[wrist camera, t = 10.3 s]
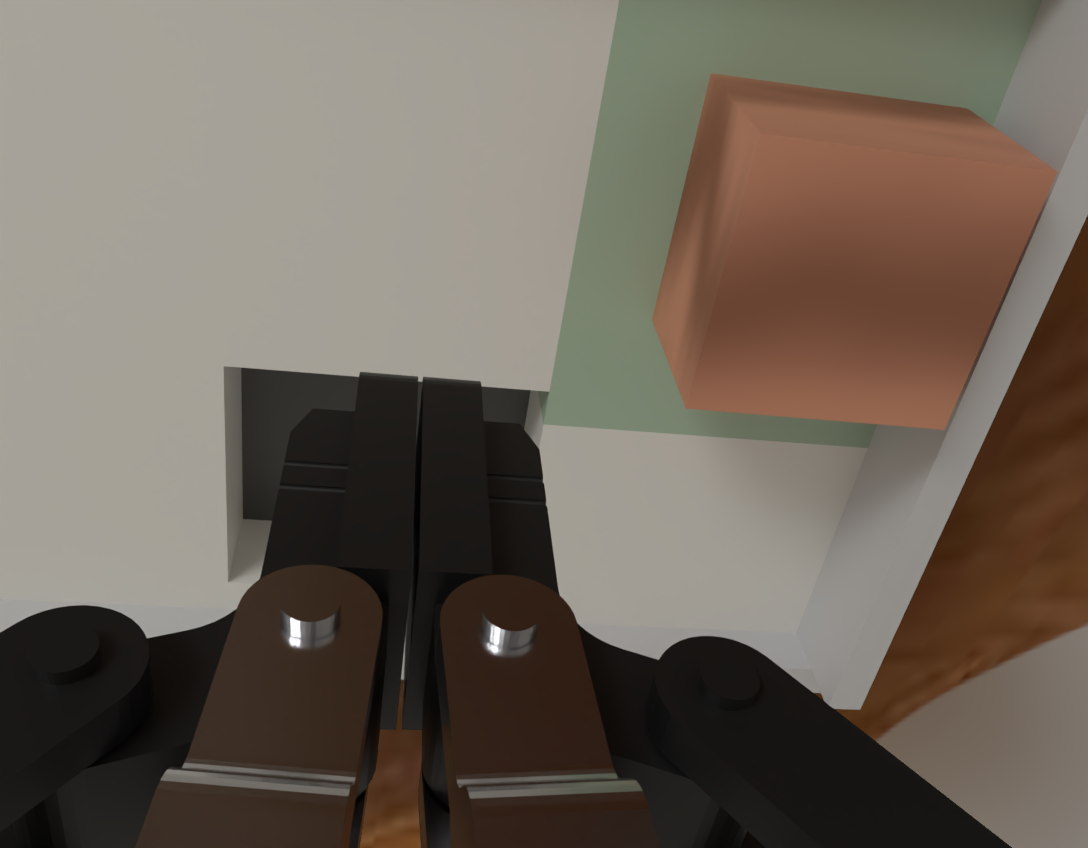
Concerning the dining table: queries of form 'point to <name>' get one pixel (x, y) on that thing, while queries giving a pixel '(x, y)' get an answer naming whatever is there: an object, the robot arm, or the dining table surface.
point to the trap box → (463, 291)
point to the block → (840, 253)
